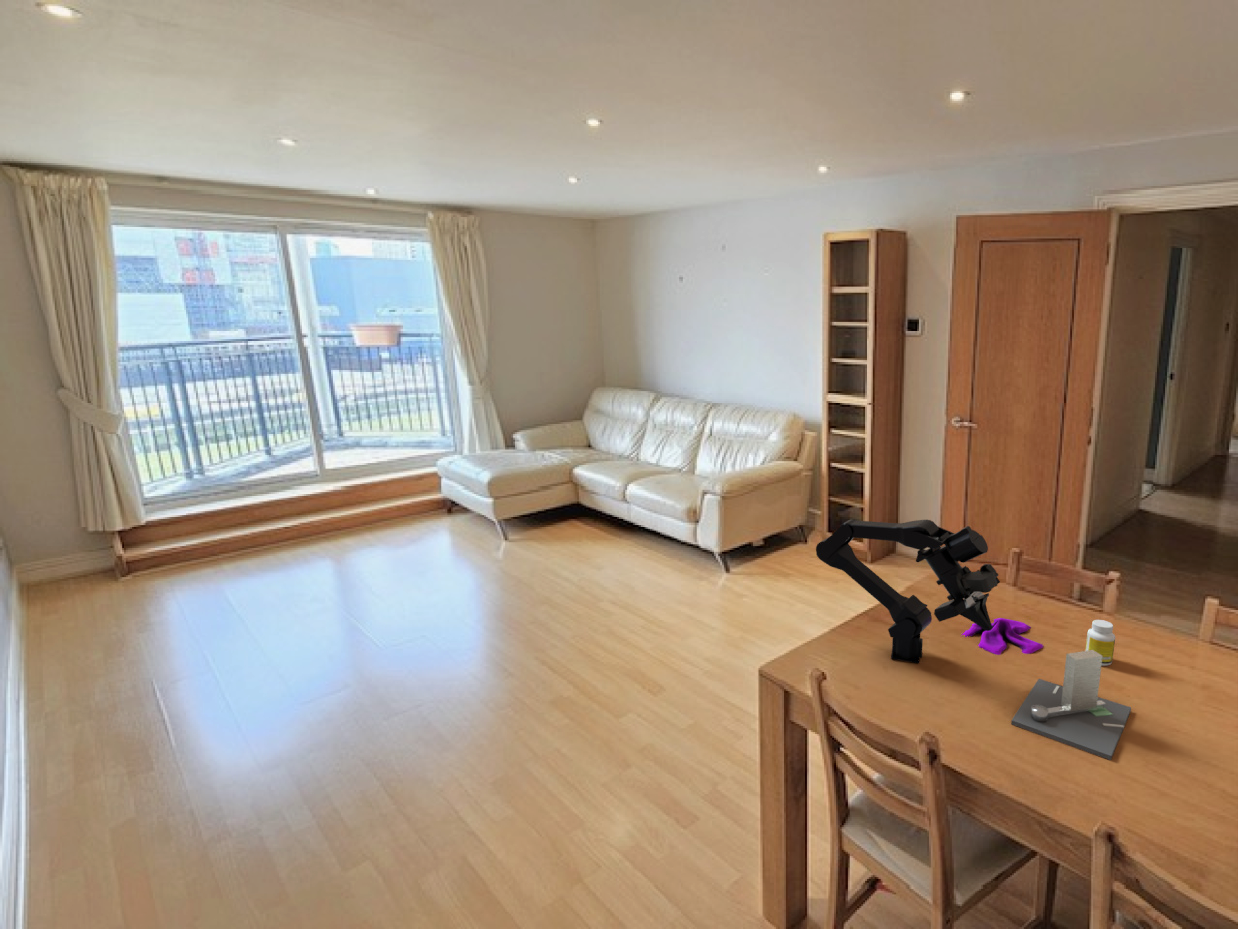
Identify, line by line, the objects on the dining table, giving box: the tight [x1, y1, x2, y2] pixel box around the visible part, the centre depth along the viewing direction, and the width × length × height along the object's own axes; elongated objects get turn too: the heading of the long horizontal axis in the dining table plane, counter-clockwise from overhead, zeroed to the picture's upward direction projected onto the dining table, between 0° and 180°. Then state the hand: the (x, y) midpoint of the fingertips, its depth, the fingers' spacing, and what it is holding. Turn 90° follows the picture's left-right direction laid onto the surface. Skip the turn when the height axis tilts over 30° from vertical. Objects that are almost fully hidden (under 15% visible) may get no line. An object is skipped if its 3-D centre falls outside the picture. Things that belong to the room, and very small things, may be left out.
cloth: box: [961, 617, 1044, 656], centre depth 170 cm, size 22×19×6 cm
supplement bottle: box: [1084, 619, 1116, 667], centre depth 155 cm, size 5×5×10 cm
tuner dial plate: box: [1010, 678, 1132, 761], centre depth 137 cm, size 20×17×1 cm
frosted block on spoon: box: [1031, 650, 1106, 722], centre depth 135 cm, size 16×3×13 cm, turn 98°
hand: (990, 630), depth 148 cm, fingers closed
